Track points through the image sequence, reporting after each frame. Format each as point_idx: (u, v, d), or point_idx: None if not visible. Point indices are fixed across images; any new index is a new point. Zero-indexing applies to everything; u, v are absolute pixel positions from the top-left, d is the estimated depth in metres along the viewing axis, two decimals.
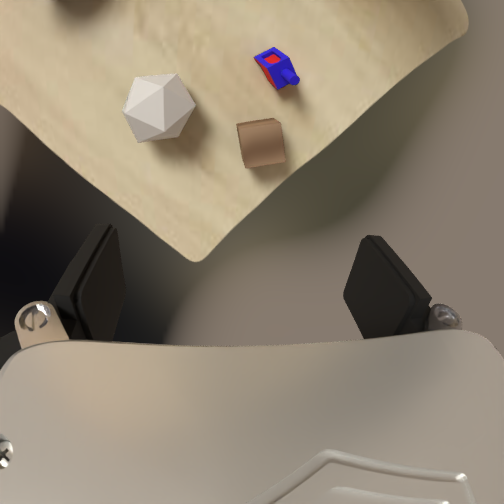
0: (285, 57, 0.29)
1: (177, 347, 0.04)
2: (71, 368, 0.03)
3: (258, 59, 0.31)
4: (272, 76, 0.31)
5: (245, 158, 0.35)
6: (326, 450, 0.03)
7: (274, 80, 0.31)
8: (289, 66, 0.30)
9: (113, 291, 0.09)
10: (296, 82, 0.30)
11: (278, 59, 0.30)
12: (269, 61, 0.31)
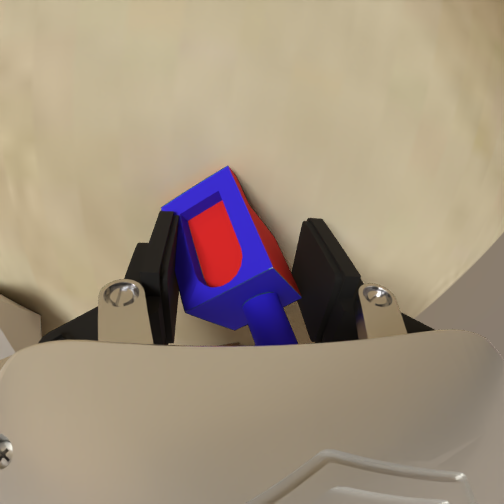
0: (259, 261, 0.09)
1: (177, 347, 0.04)
2: (71, 368, 0.03)
3: None
4: (211, 319, 0.10)
5: None
6: (326, 450, 0.03)
7: (221, 322, 0.11)
8: (274, 286, 0.09)
9: None
10: None
11: (236, 243, 0.10)
12: (205, 243, 0.10)
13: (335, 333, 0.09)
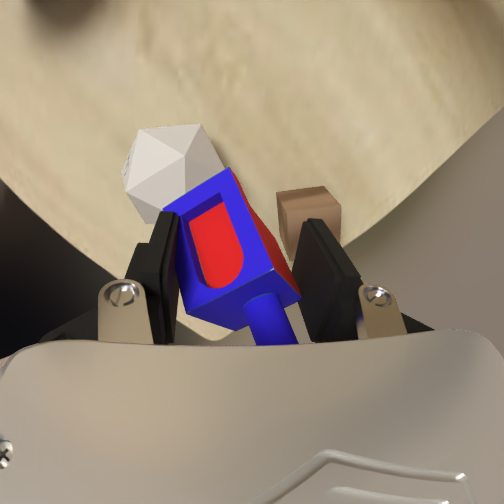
0: (260, 263, 0.09)
1: (177, 347, 0.04)
2: (71, 368, 0.03)
3: None
4: (213, 320, 0.10)
5: (291, 249, 0.27)
6: (326, 450, 0.03)
7: (222, 323, 0.11)
8: (275, 287, 0.09)
9: None
10: None
11: (237, 244, 0.10)
12: (206, 244, 0.10)
13: (335, 333, 0.09)
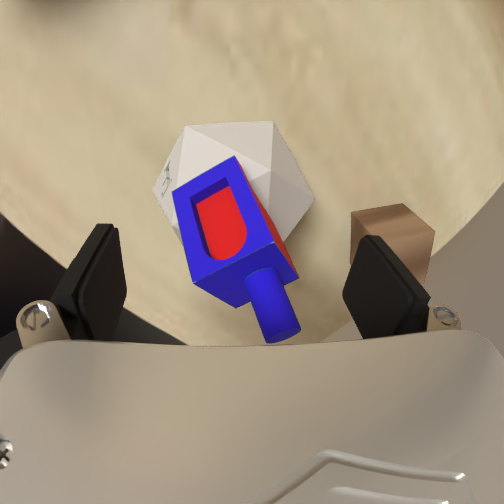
0: (261, 237, 0.10)
1: (177, 347, 0.04)
2: (71, 368, 0.03)
3: (180, 211, 0.11)
4: (216, 293, 0.11)
5: None
6: (326, 450, 0.03)
7: (224, 297, 0.12)
8: (274, 262, 0.10)
9: (114, 290, 0.09)
10: (289, 336, 0.10)
11: (240, 223, 0.11)
12: (212, 223, 0.11)
13: None
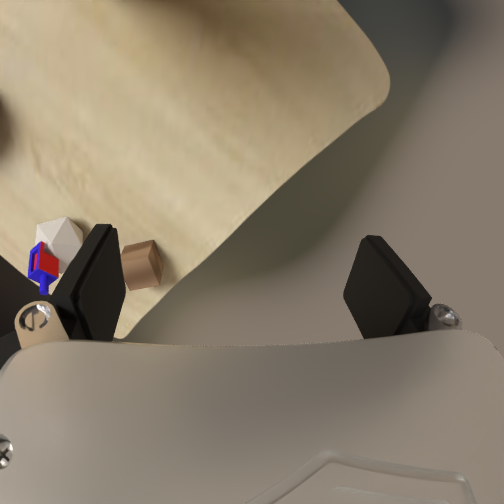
0: (37, 266, 0.31)
1: (177, 347, 0.04)
2: (71, 368, 0.03)
3: (30, 257, 0.32)
4: (36, 280, 0.32)
5: (127, 284, 0.42)
6: (326, 450, 0.03)
7: (39, 282, 0.33)
8: (43, 272, 0.31)
9: (113, 291, 0.09)
10: (46, 293, 0.31)
11: None
12: (35, 261, 0.32)
13: None
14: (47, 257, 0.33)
